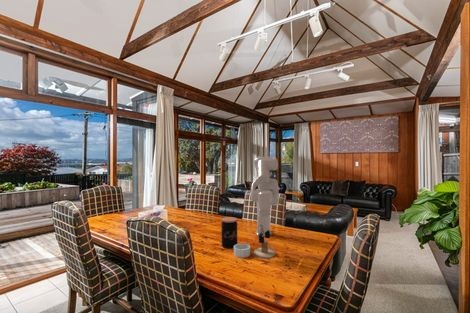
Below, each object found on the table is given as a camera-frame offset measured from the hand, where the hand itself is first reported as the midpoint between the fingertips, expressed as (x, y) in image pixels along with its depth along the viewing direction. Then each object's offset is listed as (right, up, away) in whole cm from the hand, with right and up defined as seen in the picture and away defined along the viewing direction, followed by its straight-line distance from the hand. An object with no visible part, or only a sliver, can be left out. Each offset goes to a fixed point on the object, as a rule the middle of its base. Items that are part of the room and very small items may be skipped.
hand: (264, 240), depth 138 cm
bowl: (-14, -9, 0) cm, 16 cm away
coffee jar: (-22, -9, +15) cm, 28 cm away
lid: (0, -8, 0) cm, 8 cm away
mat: (0, -9, 0) cm, 9 cm away
